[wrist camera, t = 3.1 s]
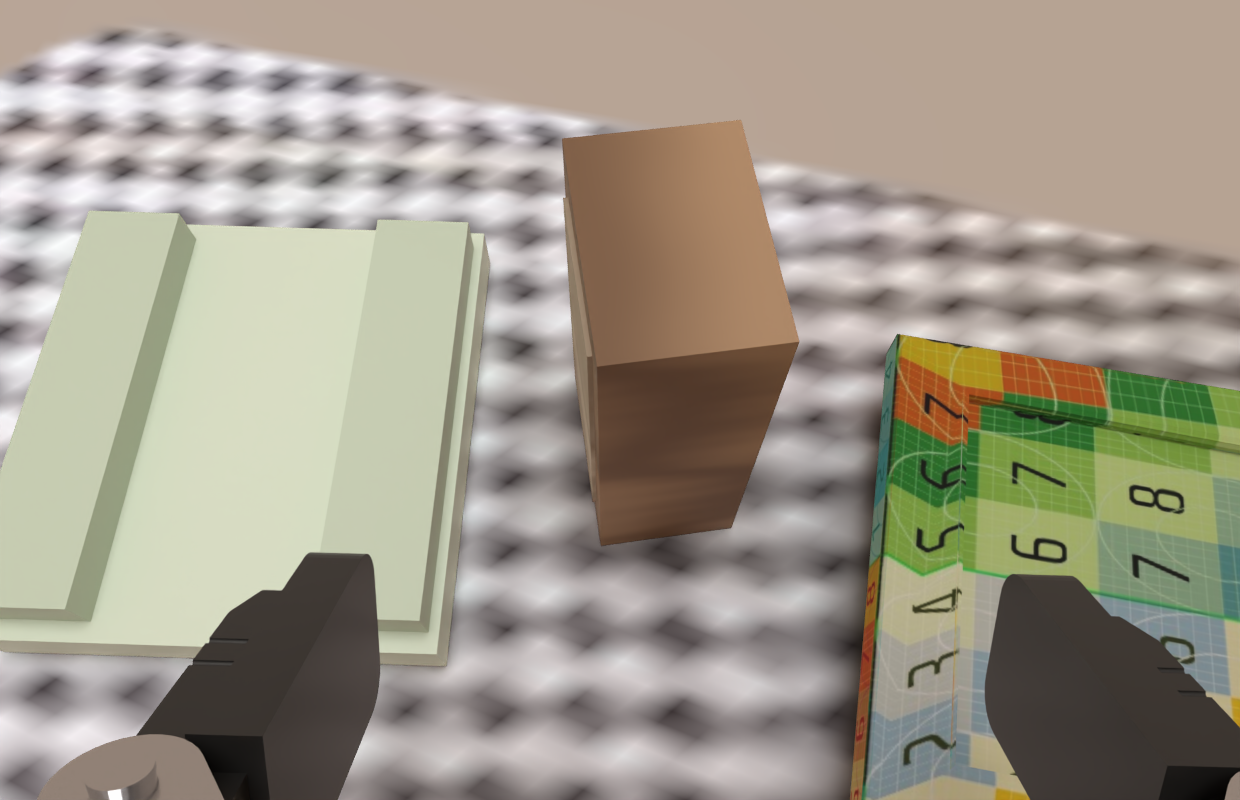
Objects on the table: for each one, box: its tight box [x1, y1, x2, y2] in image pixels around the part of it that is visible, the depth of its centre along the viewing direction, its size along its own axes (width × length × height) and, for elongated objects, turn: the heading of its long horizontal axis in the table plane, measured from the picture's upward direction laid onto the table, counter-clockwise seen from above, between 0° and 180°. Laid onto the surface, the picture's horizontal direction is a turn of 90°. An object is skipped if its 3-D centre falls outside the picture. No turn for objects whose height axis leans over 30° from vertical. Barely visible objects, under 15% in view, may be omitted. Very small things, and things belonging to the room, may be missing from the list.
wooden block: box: [562, 120, 799, 546], centre depth 22 cm, size 4×5×10 cm
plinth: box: [0, 211, 490, 666], centre depth 25 cm, size 11×12×3 cm
